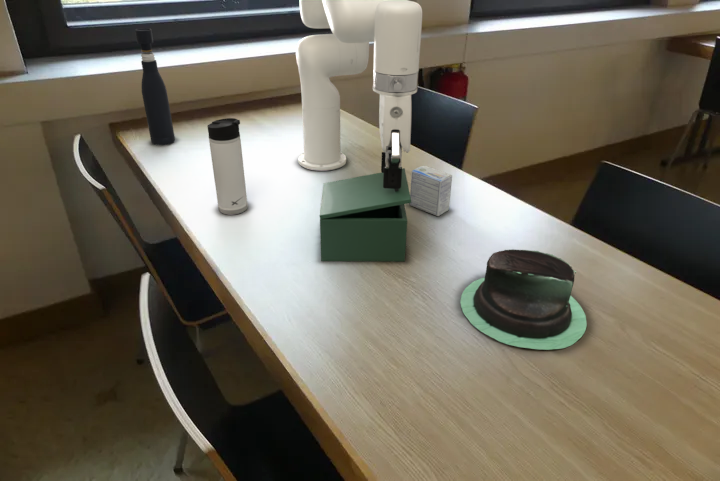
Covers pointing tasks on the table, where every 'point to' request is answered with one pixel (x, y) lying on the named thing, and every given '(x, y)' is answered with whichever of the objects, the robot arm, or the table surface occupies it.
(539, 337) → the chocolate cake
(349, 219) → the chest
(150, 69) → the dark blue water bottle
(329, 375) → the table surface
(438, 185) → the medicine box
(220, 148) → the travel mug
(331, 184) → the lid
